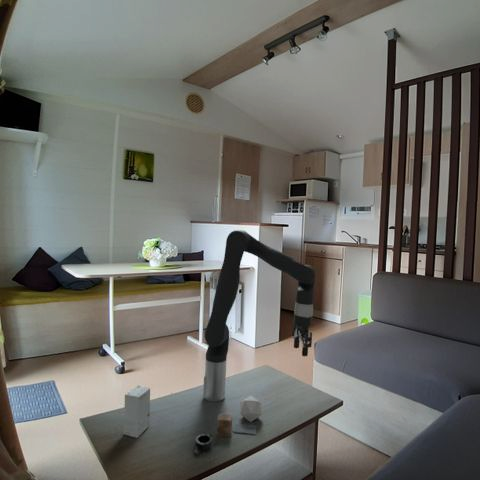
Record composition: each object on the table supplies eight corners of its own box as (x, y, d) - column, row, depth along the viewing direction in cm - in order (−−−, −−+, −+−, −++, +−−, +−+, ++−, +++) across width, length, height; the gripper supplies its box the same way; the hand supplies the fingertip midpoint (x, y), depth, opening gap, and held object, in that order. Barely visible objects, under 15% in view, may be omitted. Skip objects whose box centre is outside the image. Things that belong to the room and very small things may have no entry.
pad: (233, 432, 129) (233, 431, 129) (235, 424, 134) (235, 423, 134) (255, 434, 129) (255, 433, 129) (256, 426, 134) (256, 425, 134)
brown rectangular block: (216, 435, 127) (217, 419, 127) (218, 428, 131) (219, 413, 131) (230, 436, 127) (231, 420, 127) (231, 430, 131) (232, 414, 131)
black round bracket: (221, 448, 120) (222, 440, 120) (195, 458, 115) (195, 450, 115) (211, 436, 127) (211, 429, 127) (185, 445, 121) (186, 437, 121)
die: (265, 423, 137) (265, 396, 143) (253, 420, 131) (253, 392, 137) (247, 424, 142) (248, 397, 147) (235, 421, 136) (236, 393, 141)
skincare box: (137, 438, 123) (138, 397, 123) (122, 434, 125) (123, 394, 124) (150, 425, 131) (151, 387, 131) (136, 422, 133) (137, 384, 132)
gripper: (288, 308, 150) (285, 345, 151) (302, 318, 136) (298, 359, 137) (304, 308, 152) (301, 345, 153) (319, 318, 138) (316, 358, 139)
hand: (300, 351), depth 145 cm, fingers open, 8 cm apart
